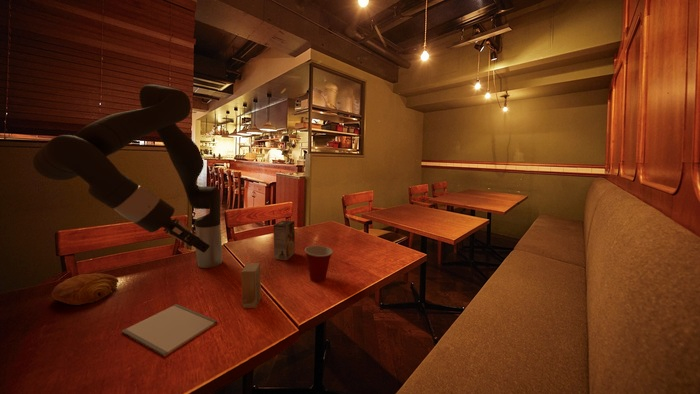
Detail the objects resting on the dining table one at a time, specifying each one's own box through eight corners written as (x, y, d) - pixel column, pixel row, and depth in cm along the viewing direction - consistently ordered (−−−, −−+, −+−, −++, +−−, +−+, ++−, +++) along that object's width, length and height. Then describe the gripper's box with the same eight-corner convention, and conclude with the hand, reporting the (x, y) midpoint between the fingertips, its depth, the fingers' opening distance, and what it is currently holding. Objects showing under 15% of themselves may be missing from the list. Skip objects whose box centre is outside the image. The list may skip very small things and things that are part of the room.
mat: (121, 333, 68) (121, 330, 68) (176, 306, 81) (176, 303, 81) (163, 356, 61) (163, 354, 60) (216, 322, 73) (216, 320, 73)
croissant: (73, 319, 77) (70, 295, 75) (44, 300, 82) (40, 278, 80) (128, 294, 90) (127, 273, 88) (100, 279, 95) (99, 259, 93)
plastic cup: (335, 284, 97) (336, 253, 95) (306, 287, 94) (306, 255, 92) (329, 271, 108) (329, 243, 106) (302, 274, 105) (302, 245, 103)
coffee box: (282, 252, 127) (282, 220, 125) (295, 253, 126) (294, 221, 124) (273, 259, 119) (273, 225, 116) (286, 260, 117) (286, 226, 115)
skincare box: (248, 297, 86) (246, 262, 85) (261, 297, 87) (260, 262, 85) (241, 308, 80) (240, 271, 78) (256, 308, 81) (255, 271, 79)
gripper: (164, 200, 58) (221, 240, 68) (152, 193, 68) (203, 228, 78) (135, 227, 55) (199, 264, 65) (128, 216, 65) (184, 249, 75)
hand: (201, 245), depth 71 cm, fingers open, 8 cm apart
